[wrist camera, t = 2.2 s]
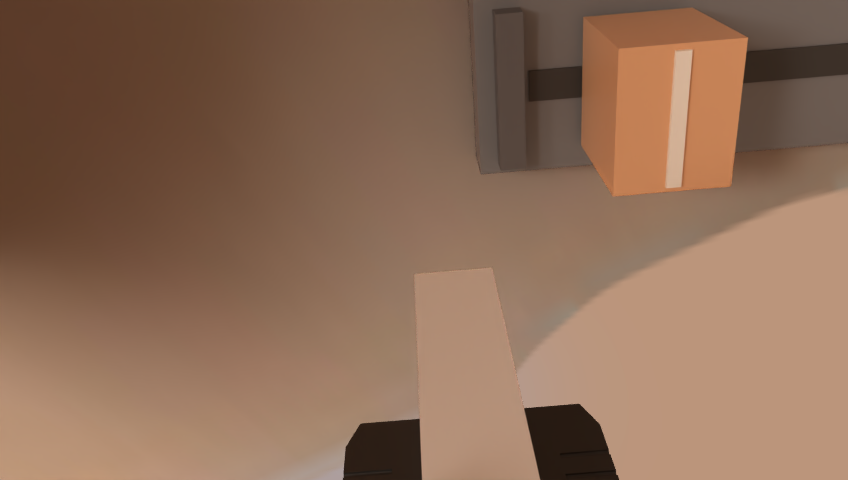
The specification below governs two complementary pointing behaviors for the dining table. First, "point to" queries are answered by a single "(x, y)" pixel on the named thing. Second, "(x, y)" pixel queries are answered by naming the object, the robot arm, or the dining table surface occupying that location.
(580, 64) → the console
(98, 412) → the dining table surface
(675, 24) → the terracotta fader knob
